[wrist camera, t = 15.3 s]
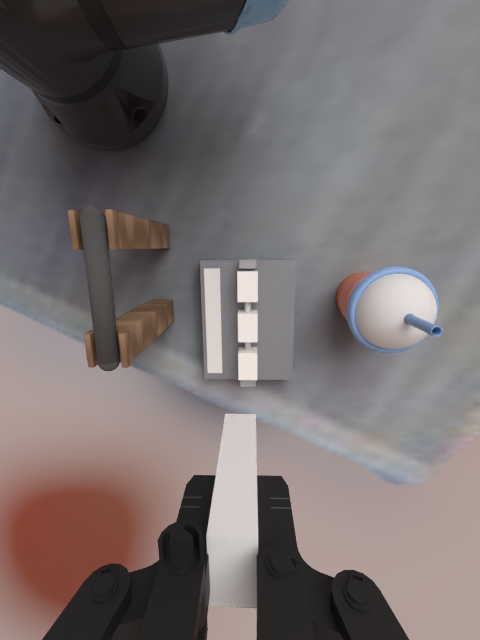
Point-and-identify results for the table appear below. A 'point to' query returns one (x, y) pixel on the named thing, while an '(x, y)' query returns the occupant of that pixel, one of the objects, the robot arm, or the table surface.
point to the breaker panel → (271, 309)
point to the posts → (147, 318)
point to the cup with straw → (389, 308)
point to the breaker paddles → (247, 324)
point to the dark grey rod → (100, 286)
